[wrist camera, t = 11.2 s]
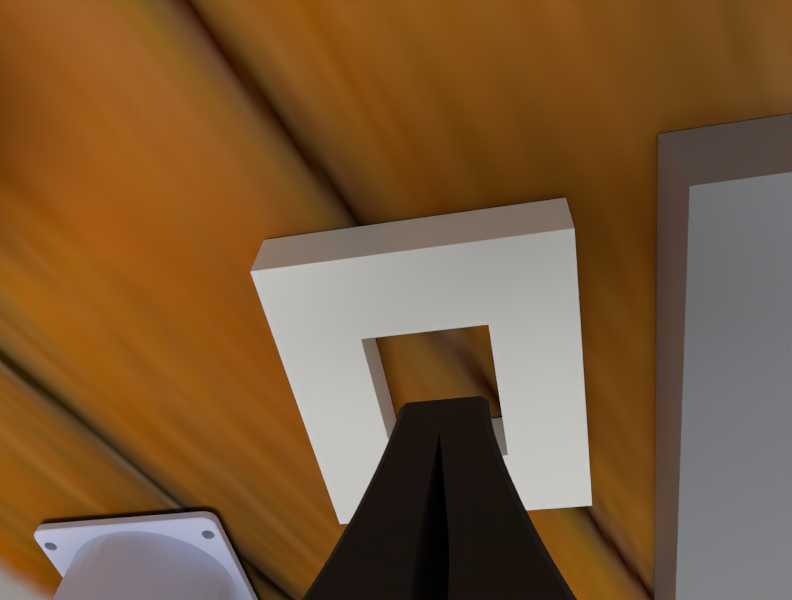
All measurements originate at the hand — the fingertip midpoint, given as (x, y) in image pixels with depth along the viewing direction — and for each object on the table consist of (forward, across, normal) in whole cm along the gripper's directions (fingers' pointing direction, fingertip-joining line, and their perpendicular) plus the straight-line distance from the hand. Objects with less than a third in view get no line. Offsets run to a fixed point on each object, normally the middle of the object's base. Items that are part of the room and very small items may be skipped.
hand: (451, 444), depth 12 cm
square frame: (+10, +1, +7) cm, 12 cm away
